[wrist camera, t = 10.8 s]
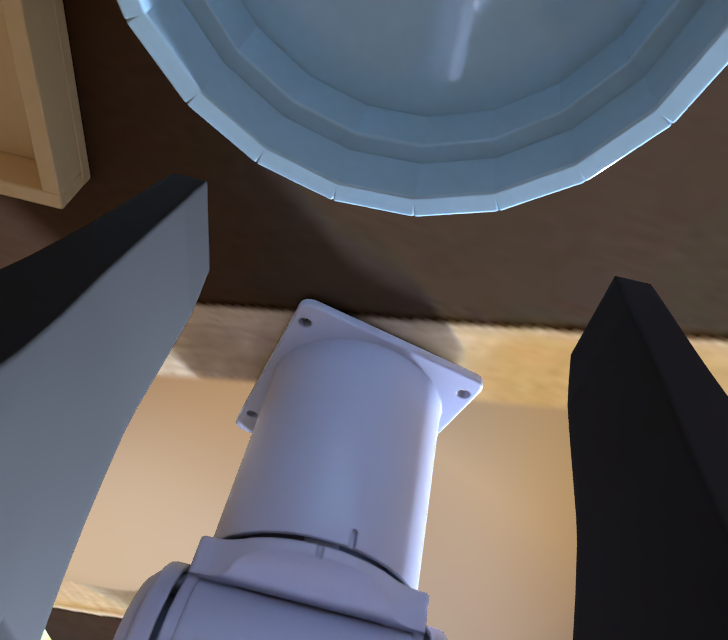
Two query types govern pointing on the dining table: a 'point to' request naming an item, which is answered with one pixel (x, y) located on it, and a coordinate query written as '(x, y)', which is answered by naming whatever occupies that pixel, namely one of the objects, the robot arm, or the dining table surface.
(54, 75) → the pen tray
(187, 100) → the bowl
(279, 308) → the dining table surface
